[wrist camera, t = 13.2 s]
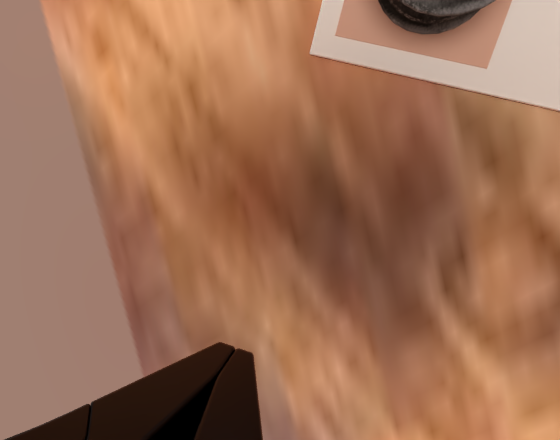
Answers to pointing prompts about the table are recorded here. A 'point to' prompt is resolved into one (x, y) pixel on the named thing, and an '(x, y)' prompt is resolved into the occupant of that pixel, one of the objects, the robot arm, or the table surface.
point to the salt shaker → (431, 13)
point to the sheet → (454, 48)
